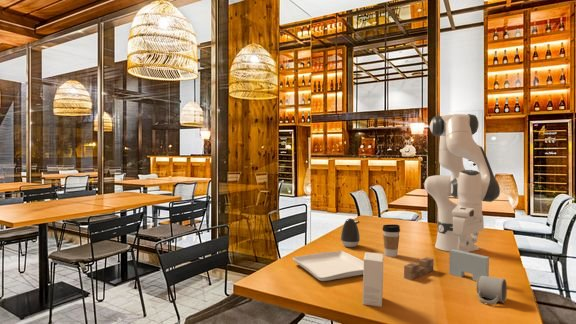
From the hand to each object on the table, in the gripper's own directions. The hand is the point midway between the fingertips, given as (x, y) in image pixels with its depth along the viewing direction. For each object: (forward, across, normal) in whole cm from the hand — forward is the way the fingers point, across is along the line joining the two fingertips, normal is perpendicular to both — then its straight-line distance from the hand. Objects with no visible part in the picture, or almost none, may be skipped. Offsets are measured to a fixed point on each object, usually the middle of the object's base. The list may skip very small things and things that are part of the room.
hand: (468, 244), depth 135 cm
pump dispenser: (+14, +1, -61) cm, 63 cm away
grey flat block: (+14, -1, 0) cm, 14 cm away
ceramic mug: (+14, +15, +14) cm, 25 cm away
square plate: (+15, +35, -42) cm, 57 cm away
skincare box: (+15, +48, -11) cm, 51 cm away
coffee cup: (+14, -2, -38) cm, 40 cm away
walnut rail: (+14, +11, -15) cm, 23 cm away
